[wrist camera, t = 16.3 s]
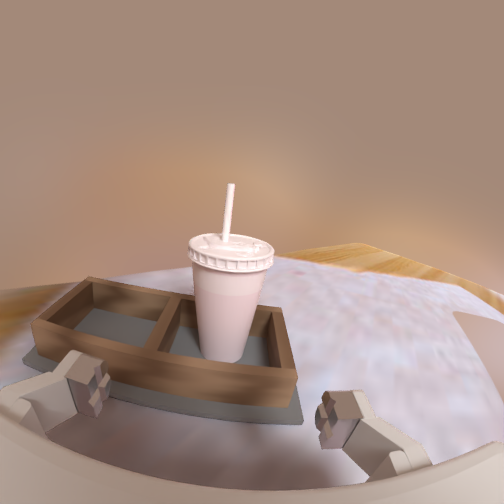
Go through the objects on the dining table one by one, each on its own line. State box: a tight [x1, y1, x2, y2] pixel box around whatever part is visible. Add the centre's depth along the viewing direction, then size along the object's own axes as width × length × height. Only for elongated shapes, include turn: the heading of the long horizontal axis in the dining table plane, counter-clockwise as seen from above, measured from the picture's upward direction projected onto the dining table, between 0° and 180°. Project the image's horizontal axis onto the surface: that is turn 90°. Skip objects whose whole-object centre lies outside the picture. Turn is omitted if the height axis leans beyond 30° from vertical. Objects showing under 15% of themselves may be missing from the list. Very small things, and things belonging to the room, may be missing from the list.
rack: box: [31, 277, 298, 408], centre depth 22 cm, size 20×10×3 cm, turn 91°
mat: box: [22, 308, 304, 425], centre depth 23 cm, size 22×13×1 cm, turn 91°
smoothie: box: [188, 183, 274, 363], centre depth 22 cm, size 6×6×14 cm
